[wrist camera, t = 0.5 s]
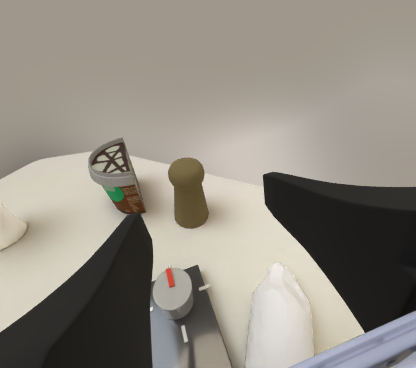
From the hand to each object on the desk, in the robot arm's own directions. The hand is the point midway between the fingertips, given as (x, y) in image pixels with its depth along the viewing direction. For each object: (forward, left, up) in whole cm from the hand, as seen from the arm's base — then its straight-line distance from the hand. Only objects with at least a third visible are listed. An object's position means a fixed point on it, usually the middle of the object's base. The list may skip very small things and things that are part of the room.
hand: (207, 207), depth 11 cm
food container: (+23, +9, -18) cm, 31 cm away
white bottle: (-4, -6, -18) cm, 20 cm away
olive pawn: (+15, -2, -18) cm, 24 cm away
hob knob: (+2, +4, -16) cm, 17 cm away
